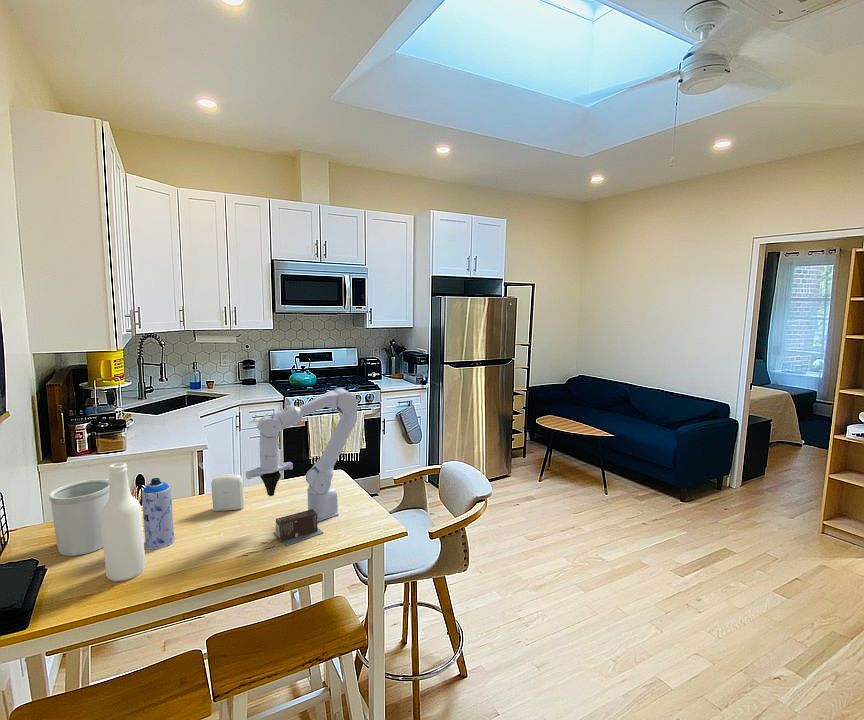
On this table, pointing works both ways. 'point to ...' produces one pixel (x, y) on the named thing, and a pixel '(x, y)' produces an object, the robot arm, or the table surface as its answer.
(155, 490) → the aerosol can
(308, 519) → the box
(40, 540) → the table surface
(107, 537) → the alcohol
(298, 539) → the mat
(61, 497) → the utensil holder
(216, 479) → the photo printer
